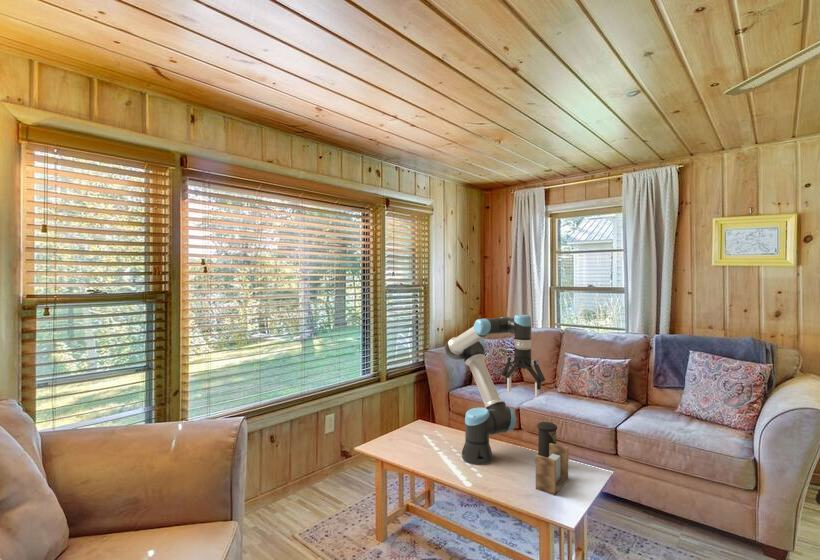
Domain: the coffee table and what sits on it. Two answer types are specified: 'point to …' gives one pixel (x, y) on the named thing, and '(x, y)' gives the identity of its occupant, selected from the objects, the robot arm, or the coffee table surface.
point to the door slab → (557, 458)
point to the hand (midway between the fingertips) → (522, 393)
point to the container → (546, 437)
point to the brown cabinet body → (551, 470)
